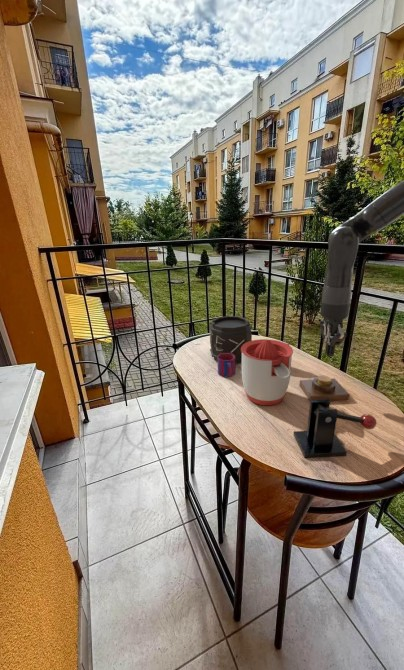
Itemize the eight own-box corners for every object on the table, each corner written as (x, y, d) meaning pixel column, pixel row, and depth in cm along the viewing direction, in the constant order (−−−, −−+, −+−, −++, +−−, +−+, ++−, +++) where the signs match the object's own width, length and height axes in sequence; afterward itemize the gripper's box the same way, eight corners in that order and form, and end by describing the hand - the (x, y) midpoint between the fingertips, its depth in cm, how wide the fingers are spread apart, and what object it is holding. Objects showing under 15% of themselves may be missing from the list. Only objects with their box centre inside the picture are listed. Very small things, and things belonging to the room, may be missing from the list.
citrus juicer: (260, 419, 81) (262, 356, 74) (232, 389, 96) (231, 335, 89) (303, 405, 86) (309, 345, 79) (270, 379, 101) (273, 327, 94)
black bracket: (330, 433, 74) (336, 395, 70) (346, 456, 67) (353, 415, 63) (293, 435, 74) (297, 397, 70) (304, 458, 67) (309, 417, 63)
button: (327, 379, 93) (328, 375, 92) (332, 386, 89) (333, 381, 88) (315, 380, 93) (315, 375, 92) (320, 386, 89) (321, 381, 88)
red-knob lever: (366, 424, 71) (373, 412, 70) (375, 433, 68) (382, 422, 66) (311, 412, 69) (317, 400, 68) (317, 421, 66) (323, 409, 65)
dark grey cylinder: (200, 356, 122) (198, 322, 116) (228, 344, 133) (228, 312, 127) (231, 370, 109) (231, 332, 103) (259, 355, 120) (260, 321, 114)
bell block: (333, 383, 97) (335, 373, 95) (348, 400, 88) (350, 389, 86) (299, 385, 97) (300, 375, 95) (310, 402, 87) (311, 391, 86)
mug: (234, 368, 111) (234, 352, 108) (237, 381, 101) (237, 364, 99) (217, 369, 111) (216, 353, 108) (219, 382, 101) (218, 365, 99)
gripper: (361, 305, 75) (352, 363, 81) (337, 294, 87) (331, 345, 93) (333, 307, 75) (326, 365, 81) (313, 296, 87) (309, 347, 93)
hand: (329, 354), depth 87 cm, fingers closed
